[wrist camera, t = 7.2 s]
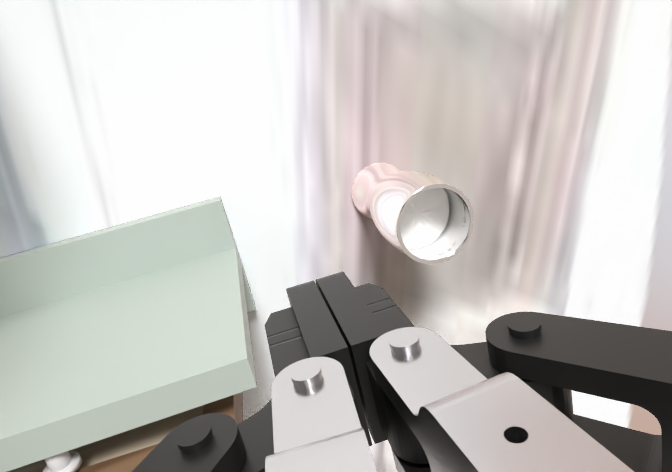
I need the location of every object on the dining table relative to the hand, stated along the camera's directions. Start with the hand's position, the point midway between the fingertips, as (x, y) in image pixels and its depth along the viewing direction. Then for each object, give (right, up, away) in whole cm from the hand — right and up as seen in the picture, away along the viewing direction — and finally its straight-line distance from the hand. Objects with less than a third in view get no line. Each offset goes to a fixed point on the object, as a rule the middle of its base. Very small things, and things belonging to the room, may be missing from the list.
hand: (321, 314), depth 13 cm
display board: (-21, -3, +37) cm, 43 cm away
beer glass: (+5, +7, +41) cm, 42 cm away
